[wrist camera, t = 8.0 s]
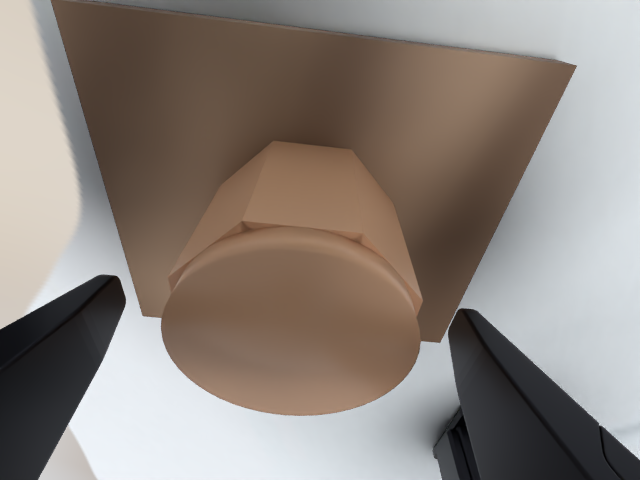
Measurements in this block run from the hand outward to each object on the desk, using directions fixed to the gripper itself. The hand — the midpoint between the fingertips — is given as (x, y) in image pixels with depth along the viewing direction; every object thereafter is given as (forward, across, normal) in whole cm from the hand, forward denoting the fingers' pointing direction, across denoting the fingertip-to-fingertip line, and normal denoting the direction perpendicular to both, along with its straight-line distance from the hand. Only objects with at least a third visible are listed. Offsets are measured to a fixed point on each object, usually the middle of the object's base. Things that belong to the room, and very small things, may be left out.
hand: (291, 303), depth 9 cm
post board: (+5, 0, 0) cm, 5 cm away
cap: (+4, 0, 0) cm, 4 cm away
